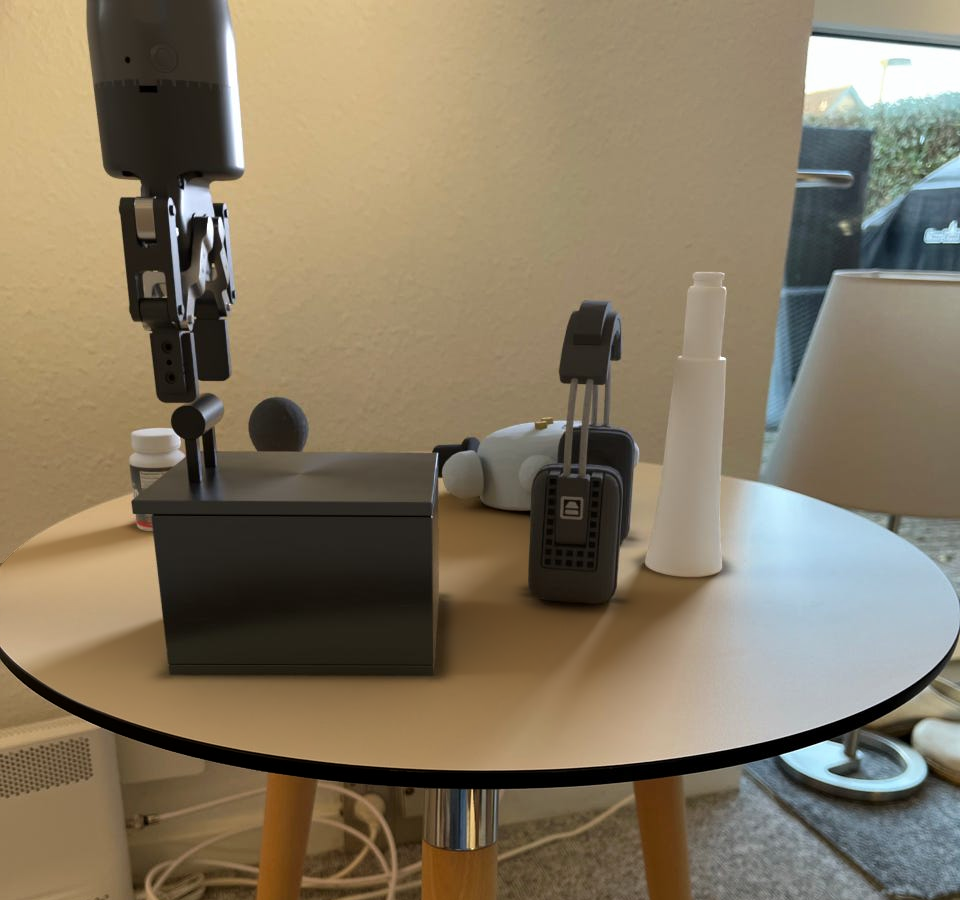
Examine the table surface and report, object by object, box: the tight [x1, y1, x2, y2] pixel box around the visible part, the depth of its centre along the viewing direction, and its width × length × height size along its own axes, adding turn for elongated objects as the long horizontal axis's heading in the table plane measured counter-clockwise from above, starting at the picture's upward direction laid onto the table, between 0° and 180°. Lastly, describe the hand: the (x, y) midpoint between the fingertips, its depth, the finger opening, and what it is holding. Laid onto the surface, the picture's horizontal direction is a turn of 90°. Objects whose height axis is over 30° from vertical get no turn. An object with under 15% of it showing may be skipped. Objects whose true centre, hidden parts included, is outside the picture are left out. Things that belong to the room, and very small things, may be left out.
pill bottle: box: [128, 427, 186, 532], centre depth 89 cm, size 5×5×8 cm
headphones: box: [527, 299, 635, 605], centre depth 77 cm, size 22×6×20 cm, turn 169°
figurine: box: [431, 416, 640, 512], centre depth 99 cm, size 17×8×20 cm
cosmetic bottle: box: [644, 271, 728, 578], centre depth 77 cm, size 6×6×22 cm
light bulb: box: [247, 396, 310, 452], centre depth 97 cm, size 6×6×10 cm
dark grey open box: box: [151, 469, 440, 677], centre depth 65 cm, size 16×14×10 cm
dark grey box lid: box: [130, 392, 438, 516], centre depth 62 cm, size 17×14×5 cm
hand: (197, 390), depth 60 cm, fingers open, 8 cm apart
